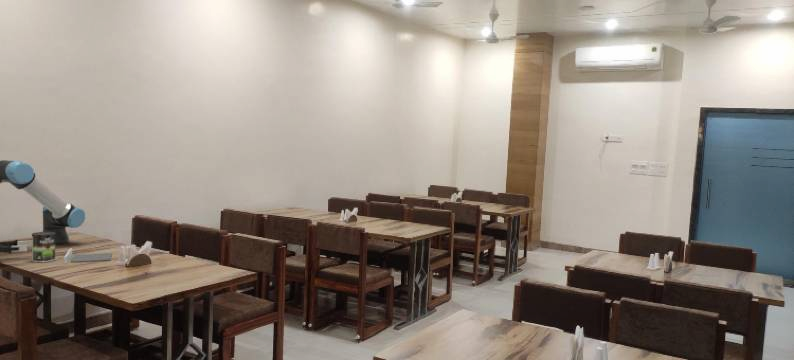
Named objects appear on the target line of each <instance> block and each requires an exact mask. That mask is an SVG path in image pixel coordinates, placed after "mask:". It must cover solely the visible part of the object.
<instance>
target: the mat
mask: <svg viewBox="0 0 794 360" xmlns="http://www.w3.org/2000/svg"><path fill="white" fill-rule="evenodd" d="M112 255H113V252H110V253H109V252H107V253H82V254H81V253H79V254H74V255H73V257H72V259H71V260H70V263H90V262H91V263H96V262H110V261H111V258H112Z"/></svg>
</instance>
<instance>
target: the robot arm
mask: <svg viewBox="0 0 794 360" xmlns="http://www.w3.org/2000/svg"><path fill="white" fill-rule="evenodd" d="M36 175H37V174H36V173H35V172H34V168H33V167H32V165H31V164H29V163H28V162H25V161H21V160H2V159H1V160H0V184H2V183H9V184H10V185H12V186H13V187H14V188H15V189H17V190H23V191H24V192H25V193H27V194H28V195H29V196H31V198H33V199H34V200H36V201H37V202H38V203H39V204H41V205H42V206H43V207H42V232H55V246H56V245H62V244H63V245H65V244H68V243H70V237H69V235H68V232H67V230H66V228H71V229H72V228H74V229H77V228H79V227H81V226H82V225H83V224H84V222H85V220H86V212H85V210H84V209H83V208H81V207H76V206H74V205H73V204H72V203H71V202H70V201H64V200H63V199H62V198H60V197H59V196H58V195H57V194H56V193H54V191H52V190H51V189H50V188H49V187H47V186H46V185H45V184H44V183H43V182H41V181H40V180H39V179H38V178H37V176H36ZM28 247H32V240H18V239H15V240H10V241H0V253H6V254H7V253H8V254H12V252H15V253H16V252H28Z"/></svg>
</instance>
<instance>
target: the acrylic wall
mask: <svg viewBox="0 0 794 360" xmlns="http://www.w3.org/2000/svg"><path fill="white" fill-rule="evenodd" d="M72 256H73V248H72V247H70V248H69V249H68V251H67V252H66V254H65V255H64V257H63V264H64V265H66V264H67V263H68V262H69V260H70V259H71V257H72Z"/></svg>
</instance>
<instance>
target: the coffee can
mask: <svg viewBox="0 0 794 360" xmlns="http://www.w3.org/2000/svg"><path fill="white" fill-rule="evenodd" d="M31 237H32V238H31V241H32V246H31V247H32V249H31V253H32V254H31V258H32V259H31V262H32V263H49V261H50V262H53V261H55V260H56V245H55V232H43V231H38V232H37V231H36V232H32V233H31Z"/></svg>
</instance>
